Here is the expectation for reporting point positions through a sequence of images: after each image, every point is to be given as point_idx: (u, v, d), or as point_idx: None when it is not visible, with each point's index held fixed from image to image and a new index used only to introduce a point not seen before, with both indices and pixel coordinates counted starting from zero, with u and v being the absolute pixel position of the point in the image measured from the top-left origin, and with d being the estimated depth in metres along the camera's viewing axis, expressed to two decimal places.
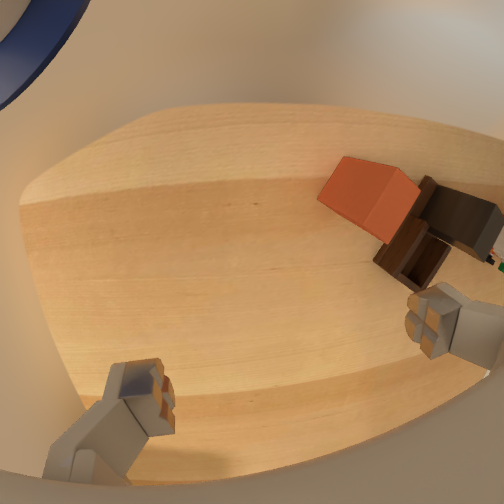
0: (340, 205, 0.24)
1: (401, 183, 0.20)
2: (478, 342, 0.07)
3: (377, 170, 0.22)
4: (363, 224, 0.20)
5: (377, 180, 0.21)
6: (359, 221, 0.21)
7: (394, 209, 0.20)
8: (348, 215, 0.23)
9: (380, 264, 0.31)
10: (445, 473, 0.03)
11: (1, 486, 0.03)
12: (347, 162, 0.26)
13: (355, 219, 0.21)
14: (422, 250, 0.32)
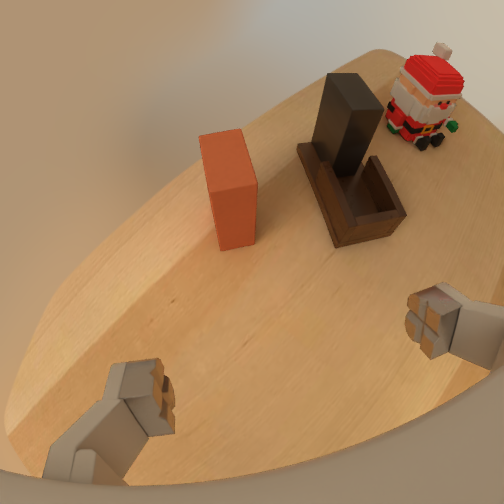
0: None
1: (213, 140, 0.20)
2: (478, 342, 0.07)
3: None
4: (210, 191, 0.18)
5: None
6: (209, 196, 0.19)
7: (228, 158, 0.19)
8: (212, 210, 0.20)
9: (339, 239, 0.25)
10: (445, 473, 0.03)
11: (1, 486, 0.03)
12: None
13: (210, 201, 0.19)
14: (367, 192, 0.28)
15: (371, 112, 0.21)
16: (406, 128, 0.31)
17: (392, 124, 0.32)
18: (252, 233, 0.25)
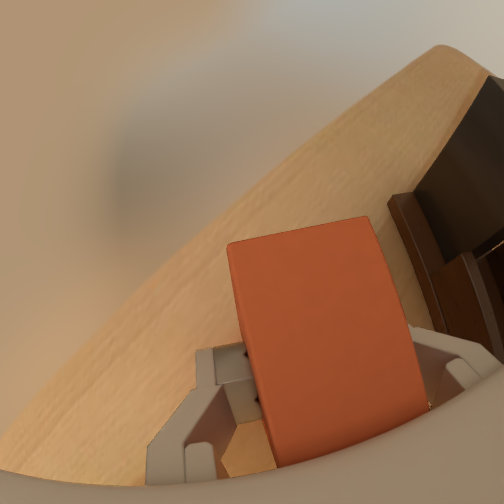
0: (268, 437, 0.08)
1: (285, 268, 0.06)
2: None
3: None
4: None
5: (243, 328, 0.07)
6: None
7: (348, 357, 0.05)
8: (276, 464, 0.06)
9: None
10: (445, 473, 0.03)
11: (1, 486, 0.03)
12: (241, 332, 0.12)
13: None
14: (496, 288, 0.14)
15: None
16: None
17: None
18: None
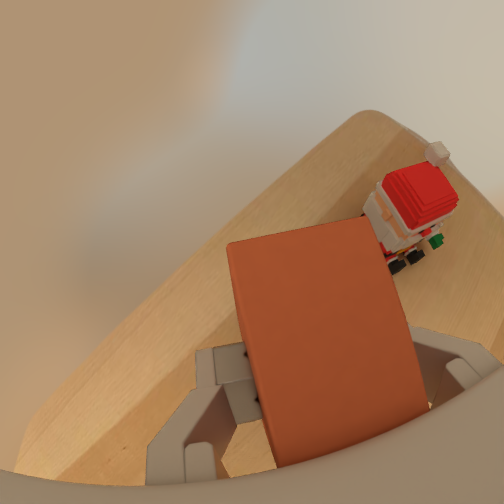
0: None
1: (285, 268, 0.06)
2: None
3: (236, 304, 0.08)
4: None
5: (242, 329, 0.07)
6: None
7: (348, 357, 0.05)
8: (276, 465, 0.06)
9: None
10: (445, 473, 0.03)
11: (1, 486, 0.03)
12: None
13: None
14: None
15: None
16: None
17: None
18: None
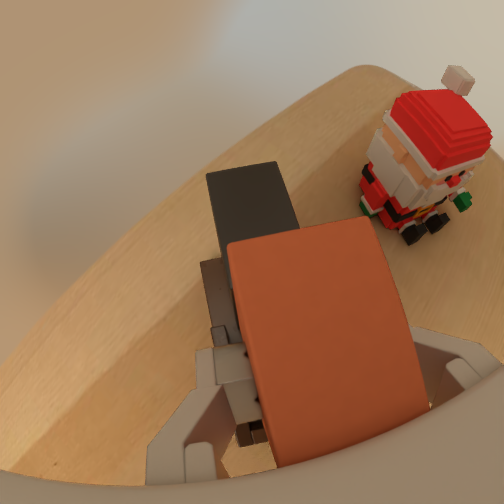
0: (268, 437, 0.08)
1: (286, 268, 0.06)
2: None
3: None
4: None
5: (243, 328, 0.07)
6: None
7: (348, 357, 0.05)
8: (277, 465, 0.06)
9: None
10: (445, 473, 0.03)
11: (1, 486, 0.03)
12: (241, 332, 0.12)
13: None
14: None
15: None
16: (388, 213, 0.21)
17: (366, 206, 0.22)
18: None
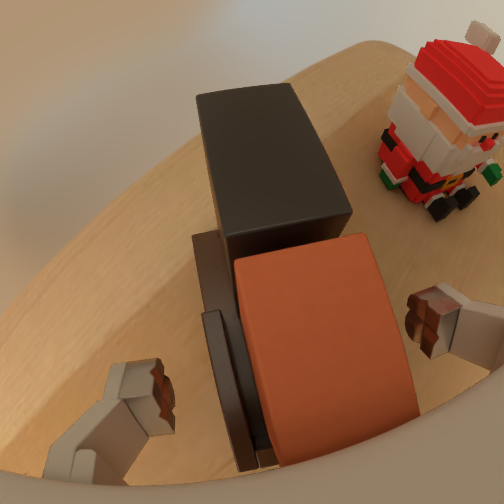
0: (270, 436, 0.08)
1: (288, 282, 0.06)
2: (478, 342, 0.07)
3: (241, 312, 0.08)
4: None
5: (248, 336, 0.07)
6: None
7: (344, 364, 0.05)
8: (278, 461, 0.07)
9: None
10: (445, 473, 0.03)
11: (1, 486, 0.03)
12: (244, 336, 0.13)
13: None
14: None
15: (303, 228, 0.07)
16: (414, 183, 0.17)
17: (388, 174, 0.18)
18: None
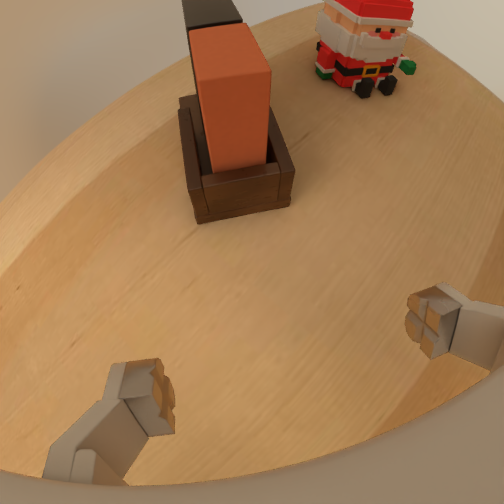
0: None
1: (208, 32, 0.12)
2: (478, 342, 0.07)
3: (194, 68, 0.14)
4: (198, 79, 0.11)
5: None
6: (198, 89, 0.11)
7: (227, 47, 0.11)
8: (203, 119, 0.13)
9: (195, 211, 0.18)
10: (445, 473, 0.03)
11: (1, 486, 0.03)
12: None
13: (200, 100, 0.12)
14: None
15: None
16: (338, 71, 0.23)
17: (319, 68, 0.24)
18: None
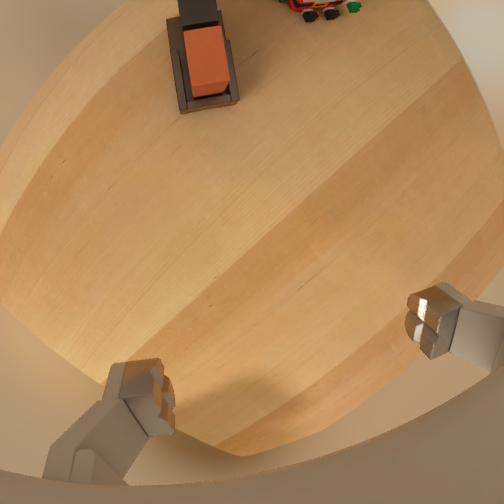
0: None
1: (196, 36, 0.19)
2: (478, 342, 0.07)
3: None
4: (192, 85, 0.21)
5: None
6: (191, 86, 0.21)
7: (208, 55, 0.20)
8: (192, 89, 0.23)
9: (180, 111, 0.29)
10: (445, 473, 0.03)
11: (1, 486, 0.03)
12: None
13: (191, 87, 0.22)
14: None
15: (204, 23, 0.19)
16: (293, 1, 0.25)
17: None
18: (221, 93, 0.27)
